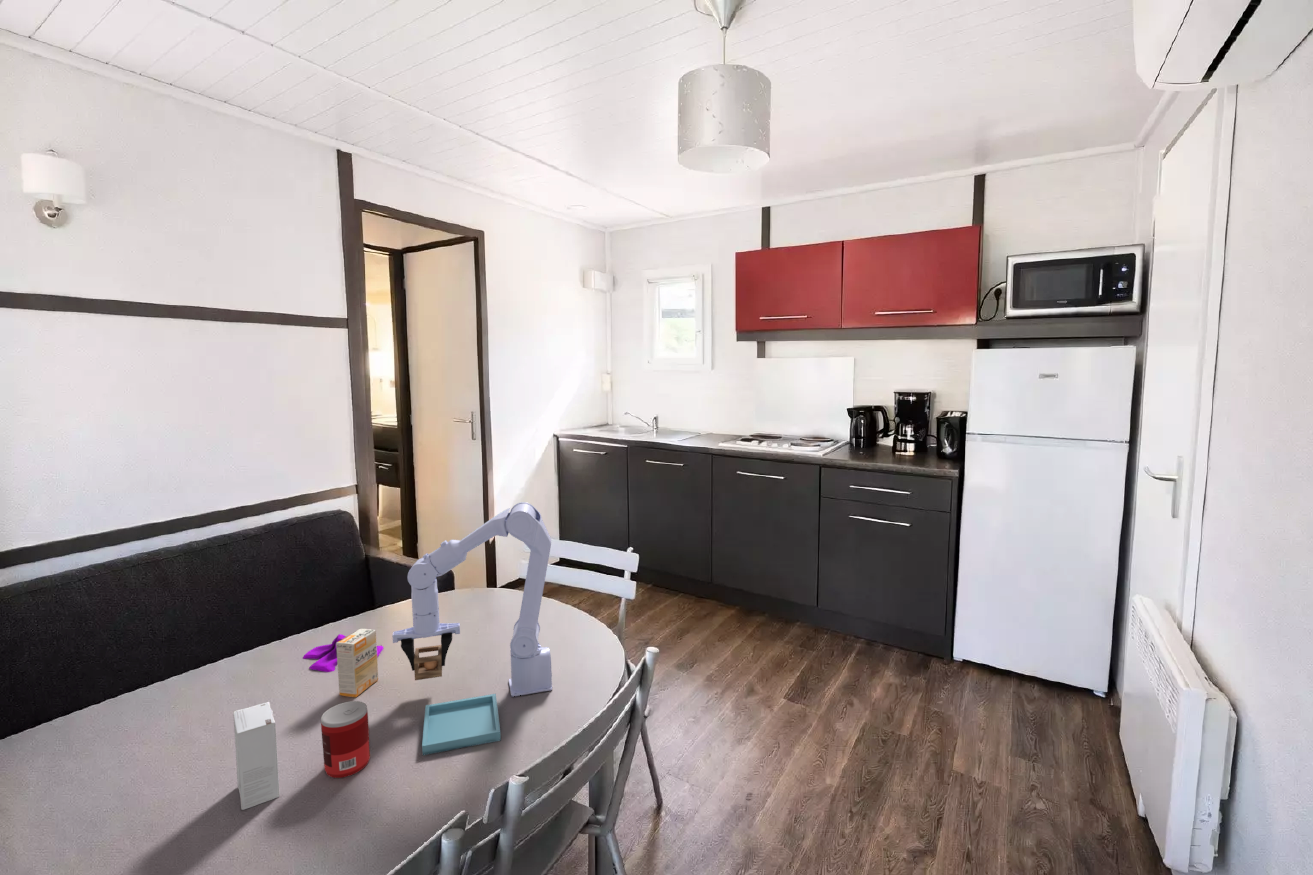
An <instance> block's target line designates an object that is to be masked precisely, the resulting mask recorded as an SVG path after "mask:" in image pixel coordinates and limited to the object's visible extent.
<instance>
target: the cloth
mask: <svg viewBox="0 0 1313 875" xmlns="http://www.w3.org/2000/svg"><path fill="white" fill-rule="evenodd" d="M345 637H347V636H346V635H345V634H341V633H339V634H338V635H336V637H335V638H334V639H333V640H332V642H331V643H330V644H324V645H323V644H322V645H319V646H316V647H313V648H312V649H310V650H308V651H307V652H306V653H305V654H304V655H303V656H302V659H303V660H307V659H309V660H316V661H314V662H313V663H312V664H311V665H310V666H309V667H308V670H313V671H319V672H324V673H331V672H335V671H336V667H337V666H338V663H337V647H336V643H337V642H339V641H340V640H342V639H344V638H345ZM383 650H384V646H383V645H377V659H378V657H379V656H380V654H381V653H382V651H383Z"/></svg>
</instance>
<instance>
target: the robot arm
mask: <svg viewBox="0 0 1313 875" xmlns="http://www.w3.org/2000/svg"><path fill="white" fill-rule="evenodd" d="M509 511H510V512H509ZM508 535H511V536H512V537H513V538H515V539H517V540H519V541H521V542H523V544H525V545H526V547H528V548H529V550H530V552H529V559H528V563H527V570H526V575H525V576H526V577H525V580H524V581H525V582H524V589H523V593H522V600H521V605H520V609H519V610H520V611H519V612H520V613H519V616H518V619H517V620H516V622H515V623H514V626H513V634H512V637H511V639H510V640H511V641H510V643H509V646H510V677H511V678H509V679H508V685H509V690H510V691H509V692H510V696H511V697H512V698H514V696H515V697H520V695H521V696H526V695H531V694H537V693H544V692H548V691H549V692H550V691H552V690H553V681H552V680H553V679H552V676H553V675H552V674H553V672H552V656H551V650H550V647H549V646H542V645H541V644H540V642H539V636H540V631H541V626H540V623H539V617H540V616H539V615H540V610H541V605H542V601H543V600H542V598H543V593H544V587H545V582H546V575H547V572H548V571H547V570H548V564H549V558H550V553H551V545H552V538H551V536H550V533H549V531H548V529H547V526H546V524H545V522H544V520H543V517H542V513H540V511H539V510H538V509H537V508H536V507H535V506H534V505H533V504H532V503H529V502H525V501H521V502H518V503H515V505H513V506H512V508H511V507H508V508H506V509H504V510H503V511H502V512H499V513H498V514H497V515H495V516H493V517H492V518H490V519H489V520H487V521H486V522H484V523H483V524H482V525H480V526H478V527H477V528H476V529H475V530H473V531H471V532H470V533H469V534H467V535H466V536H464V537H463V538H461V539H449V541H447V539H445V540H443V541H442V542H441V543H440V546H439V547H438V548H436V549H435V550H433V551H432V552H430V553H427V552H426V553H425V554H423V555H422V557H421V558H419V559H417V560H416V561H415V562H414V563H413V565H412V566H411V567H410V568H409V570H408V573H407V576H406V577H407V582H408V583H409V585H410V586H411V610H412V613H411V614H412V626H411V627H408V628H404V629H400V630H395V631H393V632H392V644H395V643H398V642H400V648H401V650H402V652H403V653H404V654H405V656H406V657H407V660H408V661H409V664H410V667H411V671H414V656H415V639H422V638H423V639H425V638H431V637H436V636H437V637H438V636H441V637H440V645H441V648H442V662H441V663H442V667H445V666H446V658H447V654H448V652H449V648H450V646H451V644H452V642H453V634H454V635H460V634H461V624H460V622H452V623H449V622H448V623H447V622H446V623H445V622H442V623H441V622H440V606H439V590H438V580H437V577H441V576H443V575H445V574H446V573H448V572H449V571H450V572H451V570H452V569H454V568H456V567H458V566H459V565H460V564H462V563H463V562H465V561H466V560H467V555H468V552H470V551H472V550H473V549H475V548H477V547H479V546H481V545H482V544H484V543H485V542H488V541H489V540H491V539H493V538H494V537H495V536H499V537H504V538H508Z"/></svg>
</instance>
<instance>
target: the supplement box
mask: <svg viewBox="0 0 1313 875" xmlns="http://www.w3.org/2000/svg"><path fill="white" fill-rule="evenodd" d="M377 646H378V645H377V630H376V629H370V628H369V629H368V628H359V629H357V630H355V631H354V632H352V633H350V634H349V635H347V636H346V637H345V638H344V639H342V640H340V641H339V642H337V643H336V647H337V663H338V664H337V675H338V676H337V677H338V691H339V693H338V694H339V696H341V697H348V698H349V697H350V698H357V697H358V696H359V695H361V694H362V693H363V692H364V691H365V690H367V689H368V688H370V687H372V685H373V684H375V683H376V682H378V681H379V667H378V658H377Z"/></svg>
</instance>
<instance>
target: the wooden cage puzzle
mask: <svg viewBox="0 0 1313 875" xmlns="http://www.w3.org/2000/svg"><path fill="white" fill-rule="evenodd" d="M429 652H437V654H436V655H435V654H434V655H427V656H420V654H424V653H429ZM414 653H415V656H414V681H419V680H420V681H421V680H427V679H434V678H435V679H436V678H440V677H441V678H442V677H443V666H442V663H441V662H442V648H441V644H438V645H429V646H422V647H415V648H414ZM431 661H437V662H438V664H437V667H436V668H435V669H434V670H426V669H425V667H424V662H431Z"/></svg>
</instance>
